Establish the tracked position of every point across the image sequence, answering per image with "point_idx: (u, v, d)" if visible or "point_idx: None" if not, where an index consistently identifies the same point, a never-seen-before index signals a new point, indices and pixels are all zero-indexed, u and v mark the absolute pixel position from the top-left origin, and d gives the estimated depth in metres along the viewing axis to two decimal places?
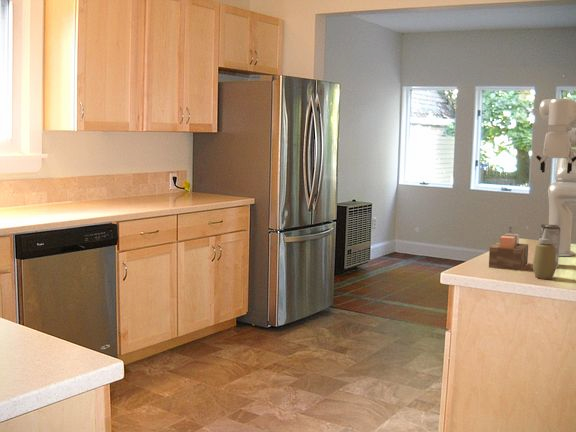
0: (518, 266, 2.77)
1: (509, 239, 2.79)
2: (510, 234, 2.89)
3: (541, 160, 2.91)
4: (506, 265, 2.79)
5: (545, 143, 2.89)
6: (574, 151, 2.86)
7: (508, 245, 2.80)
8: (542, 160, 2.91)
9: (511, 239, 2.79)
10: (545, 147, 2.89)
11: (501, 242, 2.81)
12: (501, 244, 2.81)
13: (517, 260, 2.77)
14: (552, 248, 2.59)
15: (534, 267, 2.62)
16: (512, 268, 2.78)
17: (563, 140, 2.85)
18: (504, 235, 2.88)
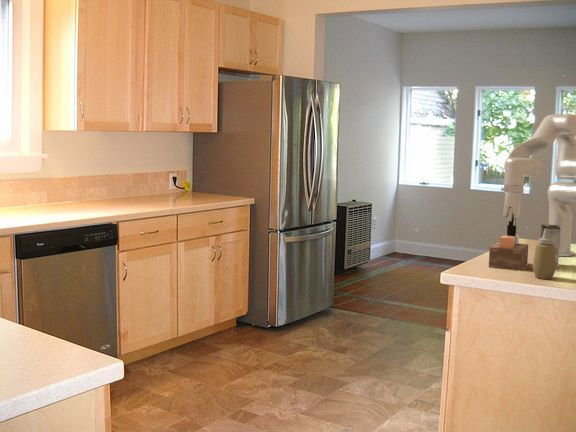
0: (518, 266, 2.77)
1: (509, 239, 2.79)
2: (510, 235, 2.89)
3: (514, 224, 2.87)
4: (506, 265, 2.79)
5: (516, 204, 2.83)
6: None
7: (508, 245, 2.80)
8: (514, 223, 2.87)
9: (511, 239, 2.79)
10: (516, 208, 2.83)
11: (501, 242, 2.81)
12: (501, 244, 2.81)
13: (517, 260, 2.77)
14: (552, 248, 2.59)
15: (534, 267, 2.62)
16: (512, 268, 2.78)
17: None
18: None
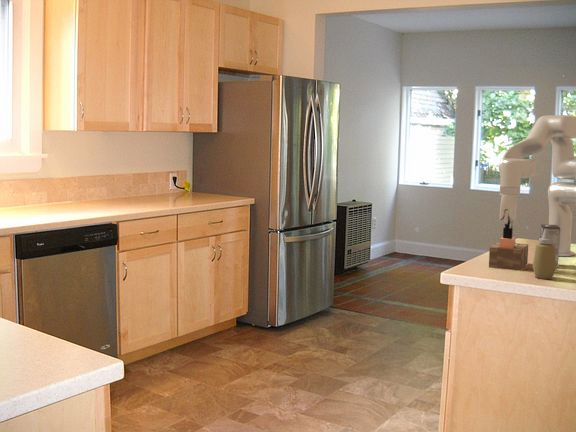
0: (518, 266, 2.77)
1: (509, 240, 2.79)
2: None
3: (510, 226, 2.80)
4: (506, 265, 2.79)
5: (512, 206, 2.76)
6: None
7: (508, 246, 2.80)
8: (511, 225, 2.80)
9: (511, 240, 2.79)
10: (512, 210, 2.76)
11: (501, 243, 2.81)
12: (501, 245, 2.81)
13: (517, 260, 2.77)
14: (552, 248, 2.59)
15: (534, 267, 2.62)
16: (512, 268, 2.78)
17: (516, 201, 2.82)
18: None
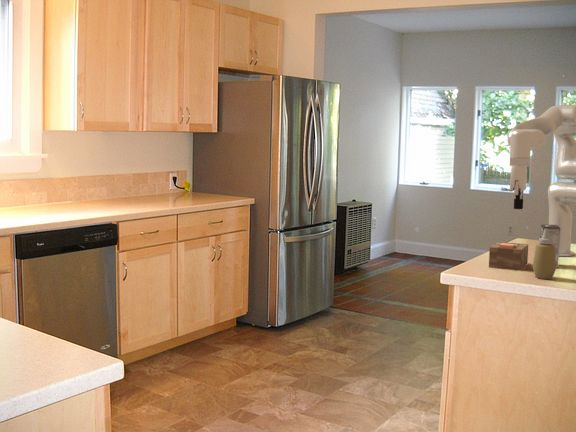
0: (518, 266, 2.77)
1: (509, 246, 2.80)
2: None
3: None
4: (506, 265, 2.79)
5: (522, 177, 2.77)
6: None
7: None
8: (521, 196, 2.82)
9: (511, 246, 2.79)
10: (522, 181, 2.78)
11: None
12: None
13: (517, 260, 2.77)
14: (552, 248, 2.59)
15: (534, 267, 2.62)
16: (512, 268, 2.78)
17: None
18: None
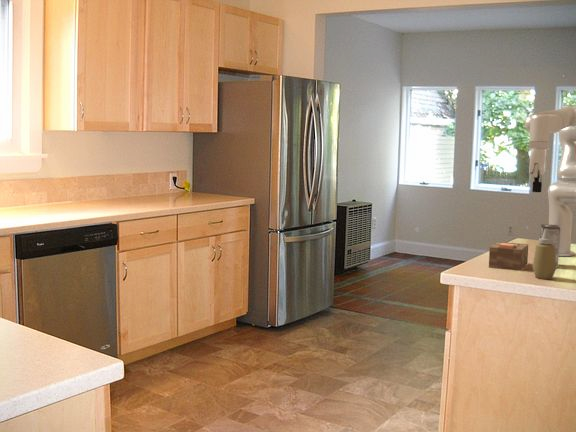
0: (518, 266, 2.77)
1: (509, 246, 2.80)
2: None
3: (540, 180, 2.86)
4: (506, 265, 2.79)
5: (542, 160, 2.82)
6: None
7: None
8: (540, 179, 2.86)
9: (511, 246, 2.79)
10: (542, 164, 2.82)
11: None
12: None
13: (517, 260, 2.77)
14: (552, 248, 2.59)
15: (534, 267, 2.62)
16: (512, 268, 2.78)
17: None
18: None
